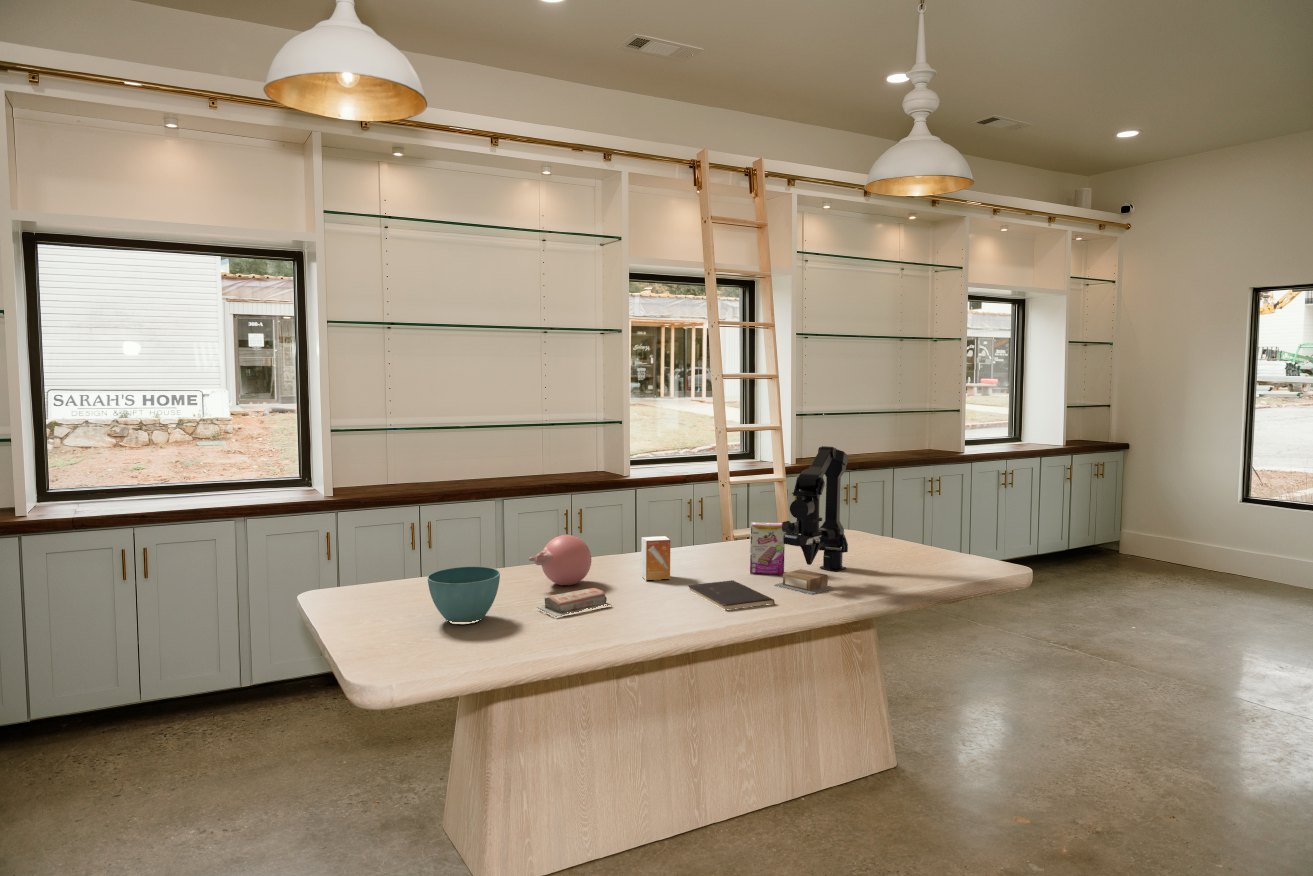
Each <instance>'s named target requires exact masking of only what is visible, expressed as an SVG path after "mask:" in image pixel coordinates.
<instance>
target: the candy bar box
mask: <svg viewBox="0 0 1313 876" xmlns="http://www.w3.org/2000/svg"><path fill="white" fill-rule="evenodd" d="M785 535H786V532H783V531H782V522H756V521H751V522H750V539H749V540H750V543H749V544H750V545H749V546H750V547H749V548H750V549H749V572H750V573H749V574H751V575H753V574H754V575H775V574H776V575H778V576H779V575H780V576H783V574H784V573H785V546H786V544H784V543H783V537H784V536H785Z"/></svg>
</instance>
